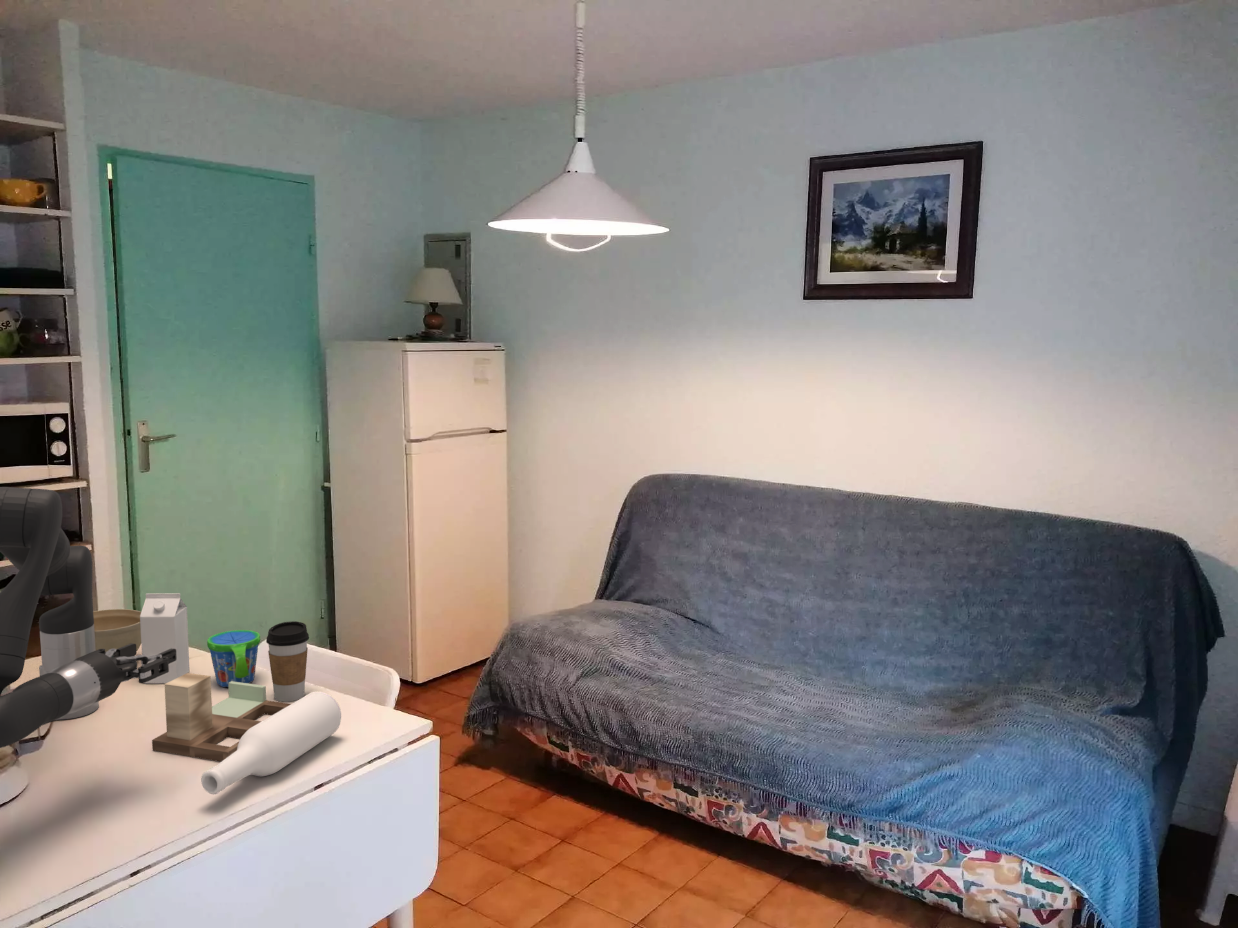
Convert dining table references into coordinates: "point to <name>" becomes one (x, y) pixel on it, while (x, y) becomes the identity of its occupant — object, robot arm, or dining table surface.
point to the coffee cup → (288, 659)
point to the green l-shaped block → (240, 699)
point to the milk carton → (165, 632)
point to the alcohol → (277, 741)
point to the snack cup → (234, 655)
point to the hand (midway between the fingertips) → (154, 651)
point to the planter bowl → (116, 628)
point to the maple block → (188, 706)
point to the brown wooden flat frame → (217, 734)
